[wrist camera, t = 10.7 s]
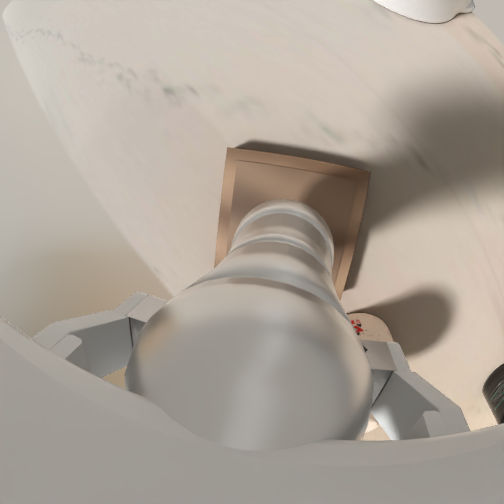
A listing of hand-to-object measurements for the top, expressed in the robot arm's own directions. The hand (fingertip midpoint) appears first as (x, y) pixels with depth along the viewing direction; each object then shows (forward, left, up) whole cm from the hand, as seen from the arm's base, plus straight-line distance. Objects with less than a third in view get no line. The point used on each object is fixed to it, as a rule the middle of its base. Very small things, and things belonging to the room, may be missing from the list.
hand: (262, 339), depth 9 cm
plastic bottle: (0, 0, -12) cm, 12 cm away
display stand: (0, 0, -17) cm, 17 cm away
